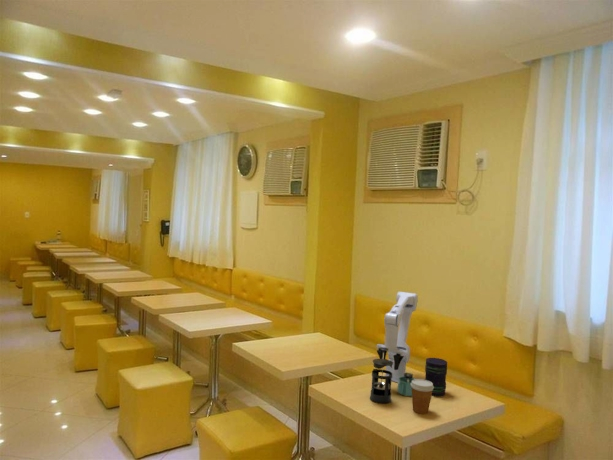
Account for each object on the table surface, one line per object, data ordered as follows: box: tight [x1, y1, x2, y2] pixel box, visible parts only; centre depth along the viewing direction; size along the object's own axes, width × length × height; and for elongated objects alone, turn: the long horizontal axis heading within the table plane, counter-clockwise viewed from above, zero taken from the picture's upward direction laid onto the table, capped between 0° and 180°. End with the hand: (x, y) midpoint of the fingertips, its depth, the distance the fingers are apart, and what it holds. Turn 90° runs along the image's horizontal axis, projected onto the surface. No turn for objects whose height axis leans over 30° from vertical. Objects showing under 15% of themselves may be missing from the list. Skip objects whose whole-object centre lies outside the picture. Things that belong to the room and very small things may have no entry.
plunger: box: [404, 372, 414, 383], centre depth 212 cm, size 6×6×8 cm
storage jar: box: [424, 357, 448, 398], centre depth 214 cm, size 10×10×15 cm
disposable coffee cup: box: [411, 378, 434, 415], centre depth 193 cm, size 10×10×12 cm
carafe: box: [397, 376, 416, 397], centre depth 212 cm, size 8×10×6 cm
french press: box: [369, 347, 393, 405], centre depth 202 cm, size 12×9×23 cm
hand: (389, 367), depth 215 cm, fingers open, 7 cm apart
